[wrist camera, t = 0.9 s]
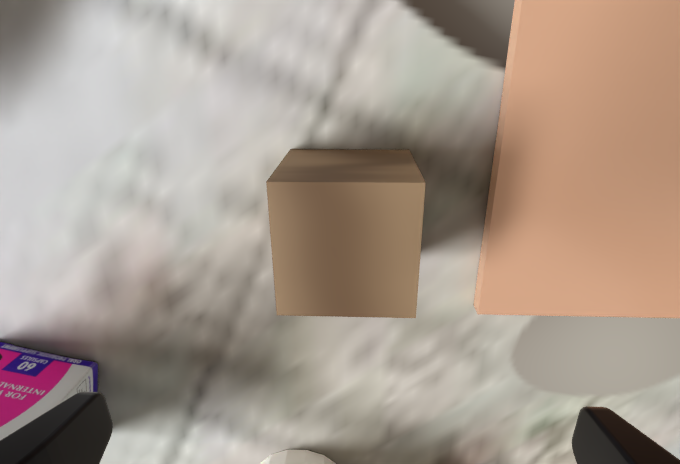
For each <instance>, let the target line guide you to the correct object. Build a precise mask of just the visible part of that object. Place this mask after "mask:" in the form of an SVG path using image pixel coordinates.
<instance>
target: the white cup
mask: <svg viewBox="0 0 680 464" xmlns="http://www.w3.org/2000/svg"><path fill="white" fill-rule="evenodd" d="M260 464H336V463H334V462H333V461H332V460H330V459H329V458H327V457H326V456H324V455H322V454H318V453H315V452H312V451H309V450H290V449H288V450H284V451H281V452H278V453H274V454H271V455H270V456H269V457H267V458H266V459H265V460H264V461H262V462H261V463H260Z"/></svg>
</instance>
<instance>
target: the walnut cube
mask: <svg viewBox="0 0 680 464" xmlns="http://www.w3.org/2000/svg"><path fill="white" fill-rule="evenodd" d="M266 183H267V196H268V209H269V221H270V234H271V247H272V260H273V272H274V285H275V298H276V310H277V315H294V316H343V317H392V318H416V306H417V293H418V279H419V266H420V252H421V239H422V225H423V212H424V198H425V185H426V183H425V181H424V178H423V176H422V174H421V172H420V170H419V168H418V166H417V164H416V162H415V160H414V158H413V156H412V154H411V152H410V150H377V149H290V151H289V152H288V153H287V155H286V156H285V157H284V159H283V160H282V161H281V163H280V164H279V166H278V167H277V168H276V170H275V171H274V172H273V174H272V175H271V176H270V178H269V179H268V180H267V182H266Z"/></svg>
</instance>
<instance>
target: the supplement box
mask: <svg viewBox="0 0 680 464" xmlns="http://www.w3.org/2000/svg"><path fill="white" fill-rule="evenodd" d="M79 392H98V364H97V363H96V362H92V361H86V360H80V359H73V358H68V357H63V356H58V355H54V354H50V353H45V352H40V351H36V350H31V349H27V348H22V347H18V346H15V345H12V344H8V343H3V342H0V440H2V439H3V438H5V437H7V436H8V435H10V434H11V433H13V432H15V431H16V430H18V429H20V428H21V427H23V426H24V425H26V424H28V423H29V422H31V421H33V420H34V419H36V418H37V417H39V416H41V415H42V414H44V413H45V412H47V411H49V410H50V409H52V408H54V407H55V406H57V405H58V404H60V403H62V402H63V401H65V400H67V399H68V398H70V397H71V396H73V395H75V394H77V393H79Z"/></svg>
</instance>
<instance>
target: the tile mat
mask: <svg viewBox="0 0 680 464" xmlns="http://www.w3.org/2000/svg"><path fill="white" fill-rule="evenodd" d="M474 307H475V309H476V311H477V314H495V315H545V316H548V315H549V316H595V317H598V316H599V317H645V318H646V317H647V318H680V0H515V3H514V10H513V18H512V25H511V32H510V40H509V48H508V55H507V62H506V69H505V77H504V84H503V91H502V99H501V106H500V114H499V121H498V128H497V136H496V143H495V150H494V158H493V165H492V173H491V180H490V187H489V195H488V202H487V209H486V217H485V224H484V232H483V239H482V246H481V254H480V261H479V268H478V276H477V283H476V291H475V298H474Z"/></svg>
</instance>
